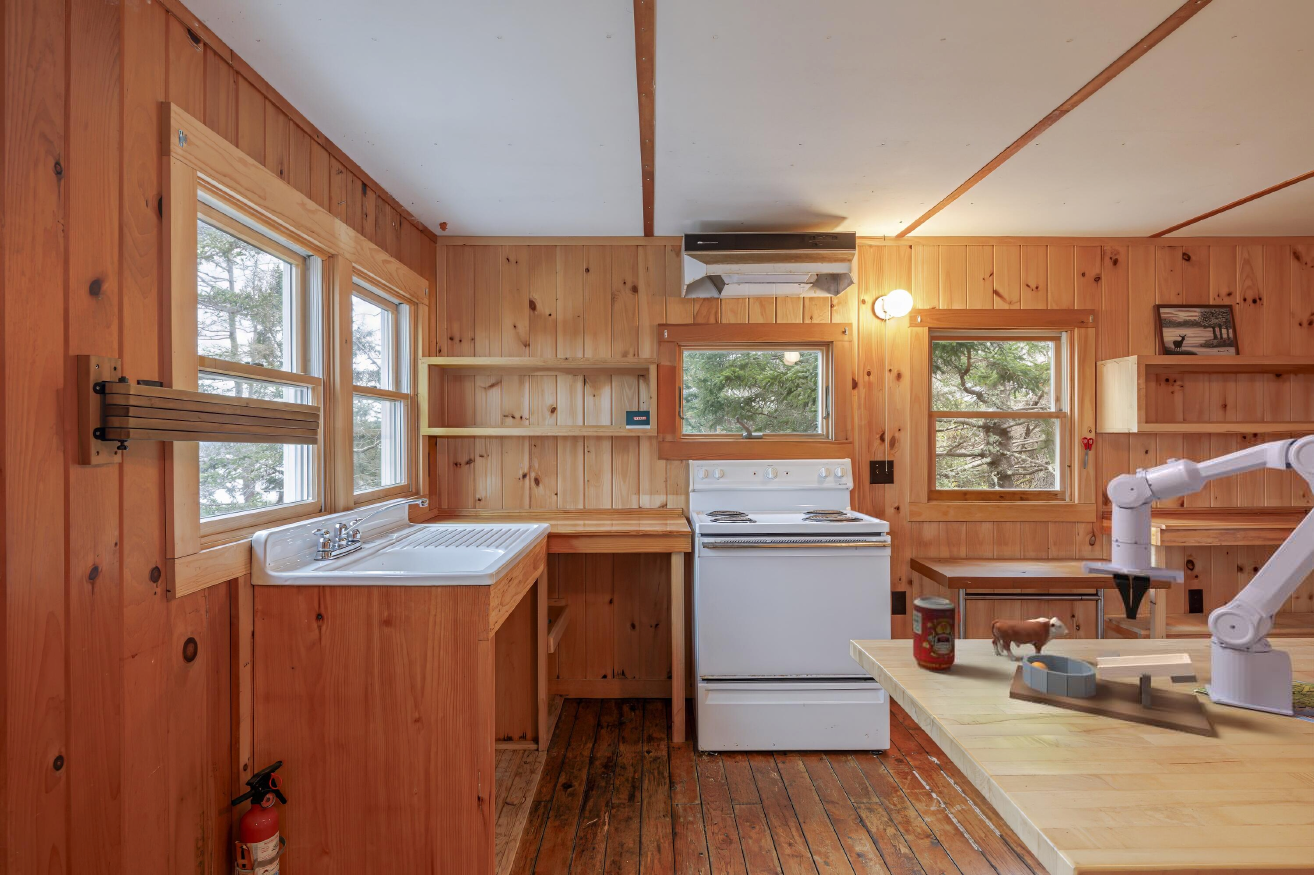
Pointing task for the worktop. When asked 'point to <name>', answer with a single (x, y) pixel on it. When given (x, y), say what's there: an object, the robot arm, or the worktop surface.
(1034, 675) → the bowl
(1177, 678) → the tilted wooden ramp
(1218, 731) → the worktop surface
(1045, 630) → the bull figurine
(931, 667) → the soda can
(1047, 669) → the ball
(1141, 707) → the base board
